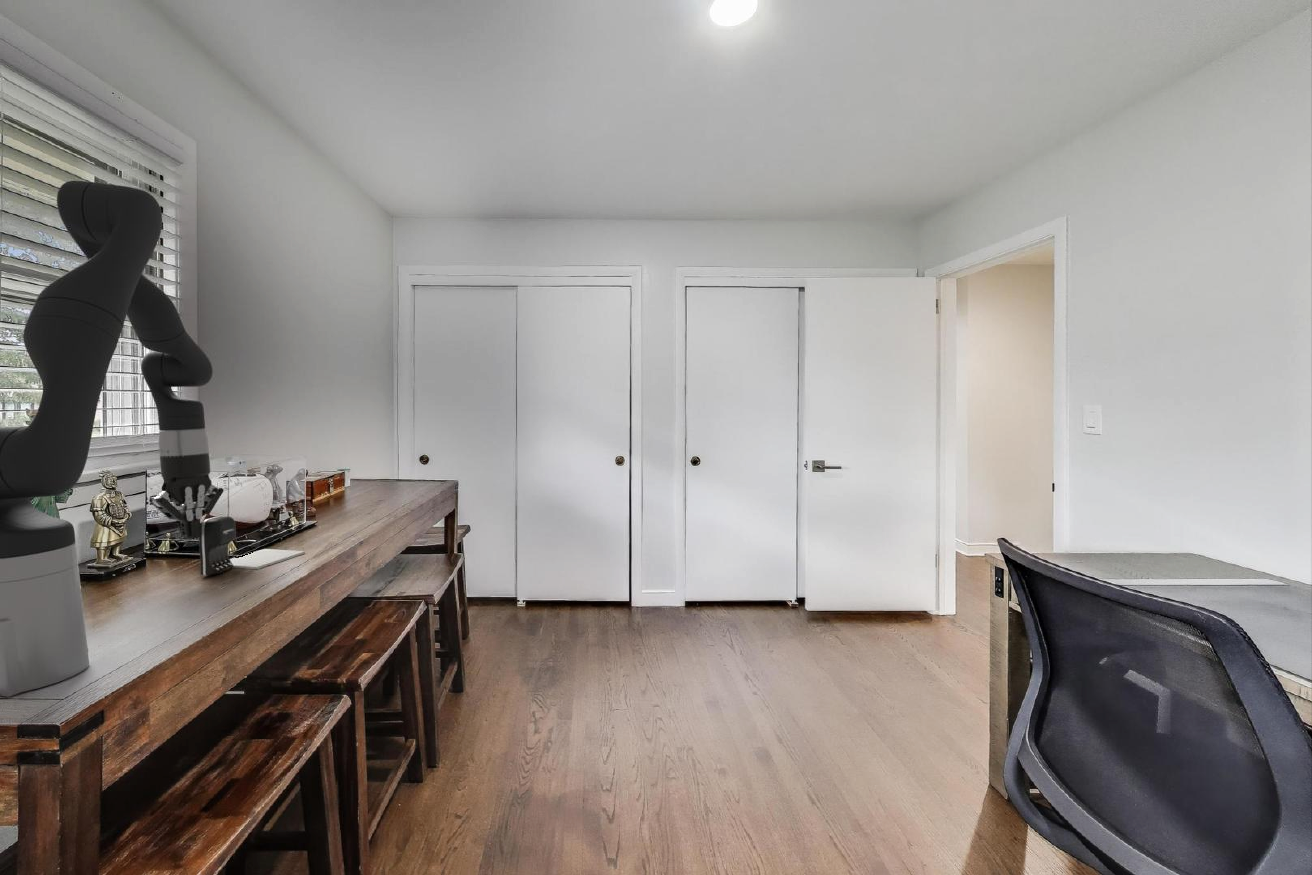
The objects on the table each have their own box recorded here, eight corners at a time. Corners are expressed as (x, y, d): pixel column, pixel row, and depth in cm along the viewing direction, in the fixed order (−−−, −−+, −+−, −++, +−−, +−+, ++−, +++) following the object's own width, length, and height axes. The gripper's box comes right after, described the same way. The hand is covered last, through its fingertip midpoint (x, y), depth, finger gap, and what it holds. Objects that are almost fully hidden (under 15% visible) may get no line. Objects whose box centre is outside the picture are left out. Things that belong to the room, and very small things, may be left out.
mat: (256, 569, 120) (256, 567, 120) (213, 566, 124) (213, 563, 123) (305, 553, 132) (304, 551, 132) (264, 550, 135) (264, 548, 135)
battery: (219, 575, 116) (218, 519, 115) (199, 576, 115) (197, 520, 115) (239, 567, 123) (238, 514, 122) (220, 568, 122) (218, 515, 122)
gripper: (162, 456, 105) (170, 548, 106) (231, 449, 118) (238, 531, 119) (132, 455, 107) (140, 546, 108) (204, 449, 120) (211, 530, 121)
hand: (191, 538), depth 114 cm, fingers closed
